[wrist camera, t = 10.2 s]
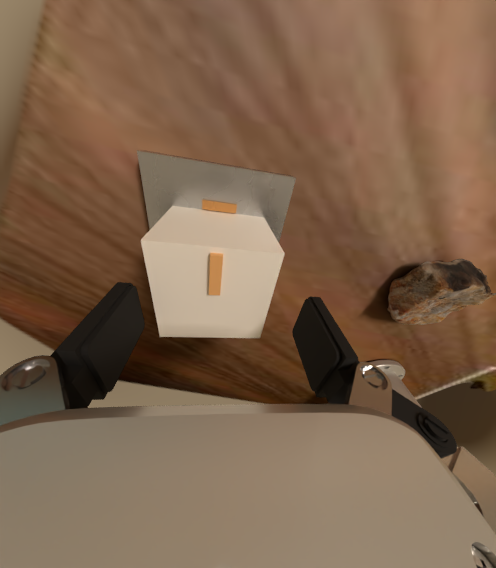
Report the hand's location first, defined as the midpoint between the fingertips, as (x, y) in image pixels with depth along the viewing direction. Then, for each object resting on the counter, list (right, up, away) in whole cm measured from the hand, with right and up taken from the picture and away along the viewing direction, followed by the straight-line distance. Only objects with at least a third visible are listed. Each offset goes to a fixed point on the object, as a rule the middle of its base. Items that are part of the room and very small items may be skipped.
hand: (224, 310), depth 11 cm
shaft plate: (-2, +3, +7) cm, 8 cm away
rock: (+22, +1, +12) cm, 25 cm away
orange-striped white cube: (-1, +4, +5) cm, 6 cm away
